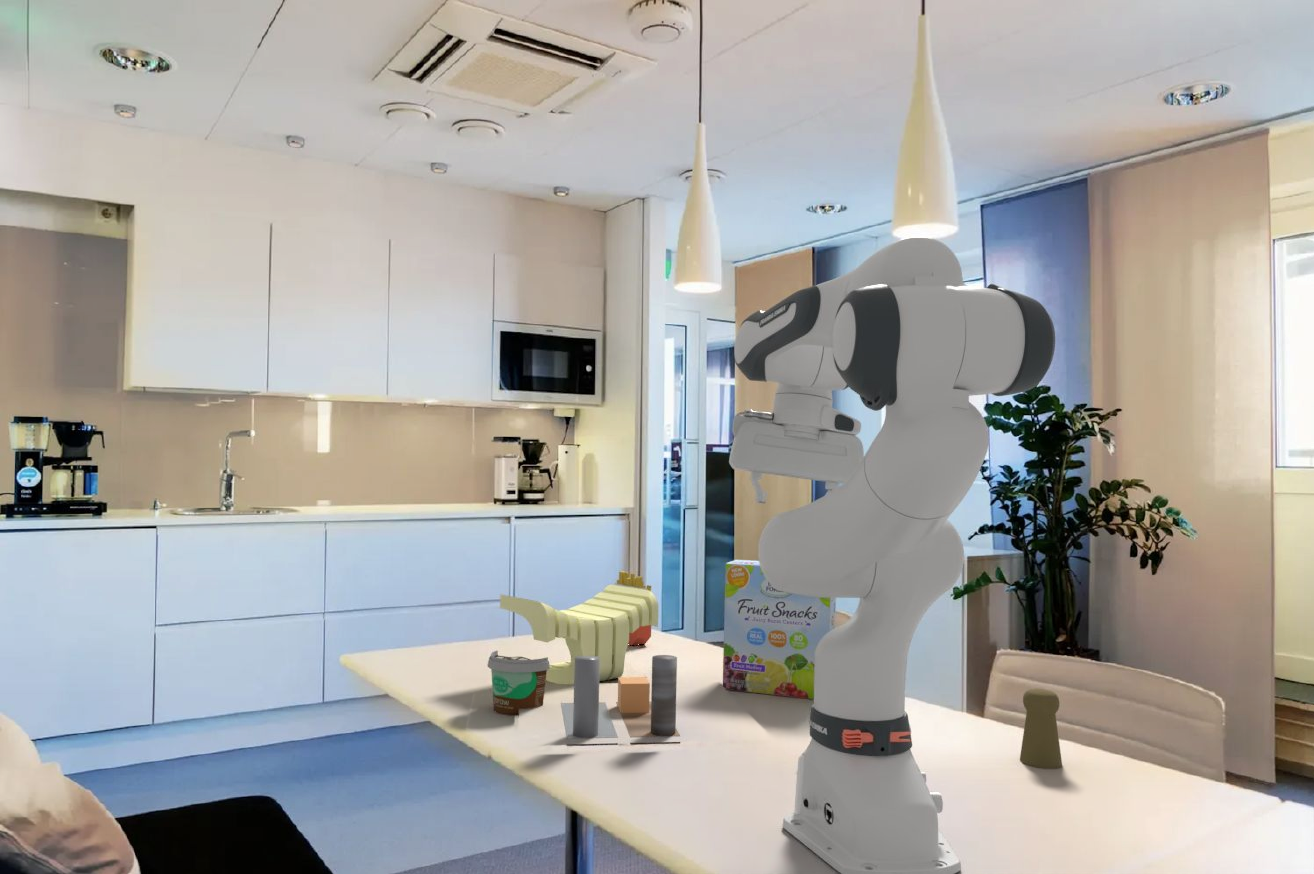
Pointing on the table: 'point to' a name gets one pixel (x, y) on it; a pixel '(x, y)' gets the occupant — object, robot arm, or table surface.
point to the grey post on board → (657, 704)
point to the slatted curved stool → (590, 627)
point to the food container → (517, 683)
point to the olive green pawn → (1041, 730)
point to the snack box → (770, 634)
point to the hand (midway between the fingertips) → (790, 507)
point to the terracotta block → (633, 694)
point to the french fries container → (642, 632)
